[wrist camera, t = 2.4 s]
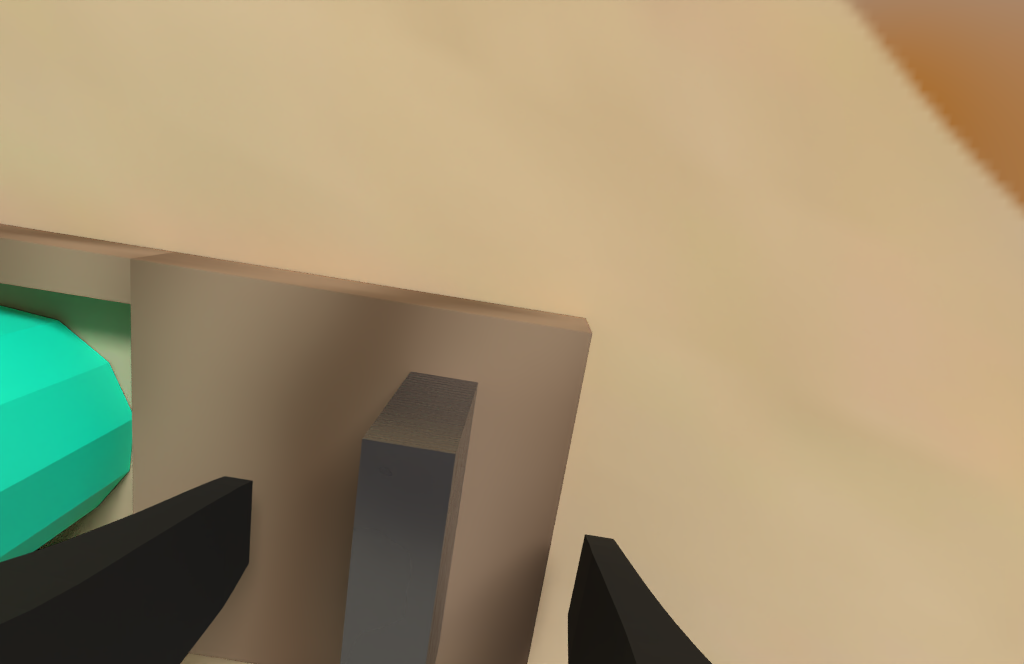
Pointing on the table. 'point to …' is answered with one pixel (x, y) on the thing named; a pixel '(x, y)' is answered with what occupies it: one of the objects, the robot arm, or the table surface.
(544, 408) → the brown compartment tray
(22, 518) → the candle
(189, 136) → the table surface
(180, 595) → the robot arm
